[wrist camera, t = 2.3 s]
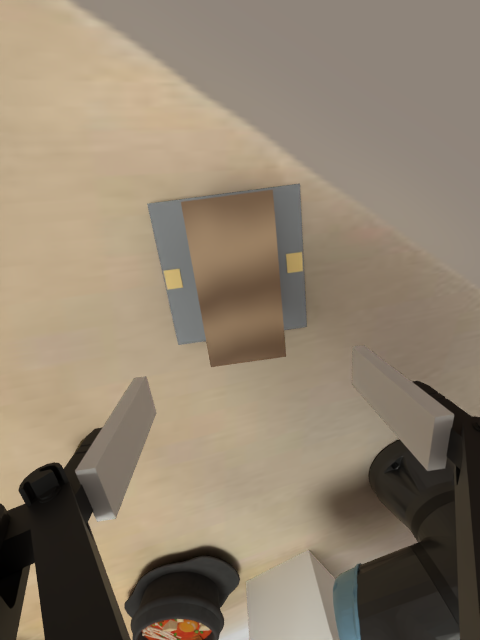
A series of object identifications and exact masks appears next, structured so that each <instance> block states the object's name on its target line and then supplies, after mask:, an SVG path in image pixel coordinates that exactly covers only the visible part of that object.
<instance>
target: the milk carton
mask: <svg viewBox="0 0 480 640" xmlns="http://www.w3.org/2000/svg"><path fill="white" fill-rule="evenodd" d="M334 581H335V578H334V577H333V576H332V575H331V574H330V573H329V571H328V570H327V569H326V568H325V567H324V566H323V565H322V564H321V563H320V562H319V561H318V560H317V559H316V557H315V556H314V555H313V554H312V553H311V552H310V551H309V550H307V551H305V552H303V553H301V554H299V555H297V556H295V557H293V558H291V559H289V560H287V561H285V562H283V563H281V564H279V565H277V566H275V567H273V568H271V569H269V570H267V571H265V572H263V573H261V574H259V575H257V576H256V577H254V578H252V579H250V580H248V581H246V591H247V608H248V624H249V640H339V635H338V631H337V625H336V620H335V614H334V606H333V585H334Z"/></svg>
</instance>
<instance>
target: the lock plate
mask: <svg viewBox="0 0 480 640" xmlns="http://www.w3.org/2000/svg"><path fill="white" fill-rule="evenodd" d="M267 190H273V198H274V211H275V223H276V236H277V249H278V261H279V274H280V286H281V299H282V312H283V324H284V330H288V329H295V328H302V327H307V320H306V300H305V280H304V259H303V239H302V219H301V199H300V184H294V185H286V186H278V187H271V188H263V189H256V190H248V191H241V192H233V193H225V194H218V195H210V196H203V197H195V198H188V199H180V200H172V201H165V202H157V203H150V204H147V205H148V209H149V214H150V218H151V223H152V227H153V232H154V236H155V241H156V245H157V250H158V254H159V259H160V264H161V268H162V273H163V277H164V282H165V286H166V291H167V295H168V300H169V304H170V309H171V313H172V318H173V323H174V327H175V332H176V336H177V341H178V345H181V344H188V343H195V342H202V341H206V337H205V332H204V326H203V321H202V315H201V310H200V305H199V299H198V294H197V288H196V283H195V277H194V272H193V266H192V261H191V255H190V250H189V244H188V239H187V233H186V228H185V222H184V217H183V212H182V206H181V202H184V201H191V200H199V199H206V198H214V197H221V196H229V195H237V194H244V193H252V192H259V191H267Z"/></svg>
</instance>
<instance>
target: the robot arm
mask: <svg viewBox="0 0 480 640" xmlns="http://www.w3.org/2000/svg"><path fill="white" fill-rule="evenodd" d="M352 385H353V386H354V387H355V388H356V390H357V391H358V392H359V393H360V394H361V395H362V396H363V398H364V399H365V400H366V401H367V402H368V403H369V405H370V406H371V407H372V408H373V409H374V410H375V411H376V413H377V414H378V415H379V416H380V417H381V418H382V419H383V421H384V422H385V423H386V424H387V425H388V426H389V428H390V429H391V430H392V431H393V432H394V433H395V434H396V436H397V437H398V438H399V439H400V440H399V441H397V442H395V443H393V444H391V445H390V446H388V447H387V448H385V449H384V450H383V451H382V452H381V453H380V454H379V455H378V456H377V457H376V459H375V460H374V462H373V464H372V466H371V468H370V473H369V481H370V484H371V487H372V488H373V490H374V492H375V493H376V495H377V497H378V498H379V500H380V501H381V502H382V503H383V504H384V505H385V506H386V507H387V508H388V509H389V510H390V511H391V512H392V513H393V514H394V515H395V516H396V517H397V518H398V519H399V520H400V521H402V522H403V523H404V524H405V525H406V526H407V527H408V528H409V529H410V530H411V532H412V533H413V535H414V537H415V538H416V540H417V541H418V543H416V544H414V545H411V546H408V547H405V548H403V549H400V550H398V551H395V552H393V553H390V554H388V555H385V556H382V557H380V558H377V559H375V560H372V561H370V562H367V563H365V564H361V563H360V564H357V565H356V566H355V567H354V568H352V569H350V570H348V571H346V572H344V573H342V574H340V575H339V576H338V577H337V578H336V579H335V581H334V585H333V606H334V614H335V620H336V625H337V631H338V635H339V640H480V417H472V416H470V415H469V414H467V413H466V412H465V411H463V410H462V409H460V408H459V407H458V406H456V405H455V404H454V403H452V402H451V401H449V400H448V399H445V397H444V396H443V395H441V394H440V393H439V394H438V392H437V391H436V390H434V389H433V388H431V387H430V386H428V385H426V384H424V383H421V382H419V381H413V382H412V381H410V380H409V379H408V378H406V377H405V376H404V375H402V374H401V373H400V372H399V371H397V370H396V369H395V368H393V367H392V366H391V365H389V364H388V363H387V362H386V361H384V360H383V359H382V358H380V357H379V356H378V355H376V354H375V353H374V352H373V351H371V350H370V349H369V348H367V347H366V346H365V345H361V346H355V347H352ZM155 415H156V409H155V406H154V402H153V399H152V395H151V391H150V388H149V384H148V381H147V377H146V376H145V377H138V378H134V379H133V381H132V382H131V384H130V385H129V387H128V388H127V390H126V392H125V393H124V395H123V396H122V398H121V399H120V401H119V403H118V404H117V406H116V407H115V409H114V410H113V412H112V414H111V415H110V417H109V418H108V420H107V421H106V423H105V425H104V426H103V428H97V429H94V430H93V431H92V432H91V433H90V434H89V435H88V436H86V438H85V439H84V440H83V442H82V443H81V445H80V447H79V448H78V449H77V451H76V452H75V455H73V456H72V458H71V459H70V461H69V462H68V464H67V465H66V467H65V468H64V469H63V467H62V466H61V465H60V464H59V463H50V464H46V465H44V466H42V467H40V468H38V469H36V470H35V471H33V472H32V473H30V474H29V475H28V476H27V477H26V478H25V479H24V480H23V482H22V483H21V485H20V487H19V493H20V494H21V496H22V498H23V500H24V502H25V503H26V504H23V505H21V506H18V507H16V508H13V509H11V510H8V511H7V510H6V509H5V507H4V506H3V505H2V504H0V640H16V637H17V632H18V626H19V621H20V616H21V611H22V606H23V601H24V595H25V590H26V585H27V580H28V575H29V570H30V565H31V564H33V563H35V567H36V574H37V582H38V590H39V597H40V605H41V612H42V620H43V628H44V635H45V640H131V639H130V637H129V634H128V631H127V628H126V626H125V623H124V620H123V617H122V614H121V612H120V609H119V606H118V603H117V601H116V598H115V595H114V592H113V590H112V587H111V584H110V581H109V579H108V576H107V573H106V570H105V567H104V565H103V562H102V559H101V556H100V554H99V551H98V548H97V545H96V543H95V540H94V537H93V534H92V531H91V529H90V526H89V524H88V520H89V518H90V516H91V514H92V512H93V513H94V516H95V518H96V520H97V521H104V520H110V519H116V517H117V514H118V511H119V509H120V506H121V504H122V501H123V498H124V496H125V493H126V491H127V488H128V485H129V483H130V480H131V478H132V475H133V472H134V470H135V467H136V465H137V462H138V459H139V457H140V454H141V452H142V449H143V446H144V444H145V441H146V439H147V436H148V433H149V431H150V428H151V426H152V423H153V420H154V418H155Z"/></svg>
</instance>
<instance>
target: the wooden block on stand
mask: <svg viewBox="0 0 480 640" xmlns="http://www.w3.org/2000/svg"><path fill="white" fill-rule="evenodd" d="M181 206H182V212H183V217H184V222H185V228H186V233H187V239H188V244H189V250H190V255H191V261H192V266H193V272H194V277H195V283H196V288H197V294H198V299H199V305H200V310H201V315H202V321H203V326H204V332H205V337H206V343H207V348H208V354H209V359H210V365H211V367H215V366H222V365H229V364H236V363H243V362H250V361H257V360H264V359H272V358H279V357H286V349H285V337H284V324H283V312H282V299H281V286H280V274H279V261H278V249H277V236H276V223H275V211H274V198H273V190H267V191H259V192H252V193H244V194H237V195H229V196H221V197H214V198H206V199H199V200H191V201H184V202H181Z"/></svg>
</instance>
